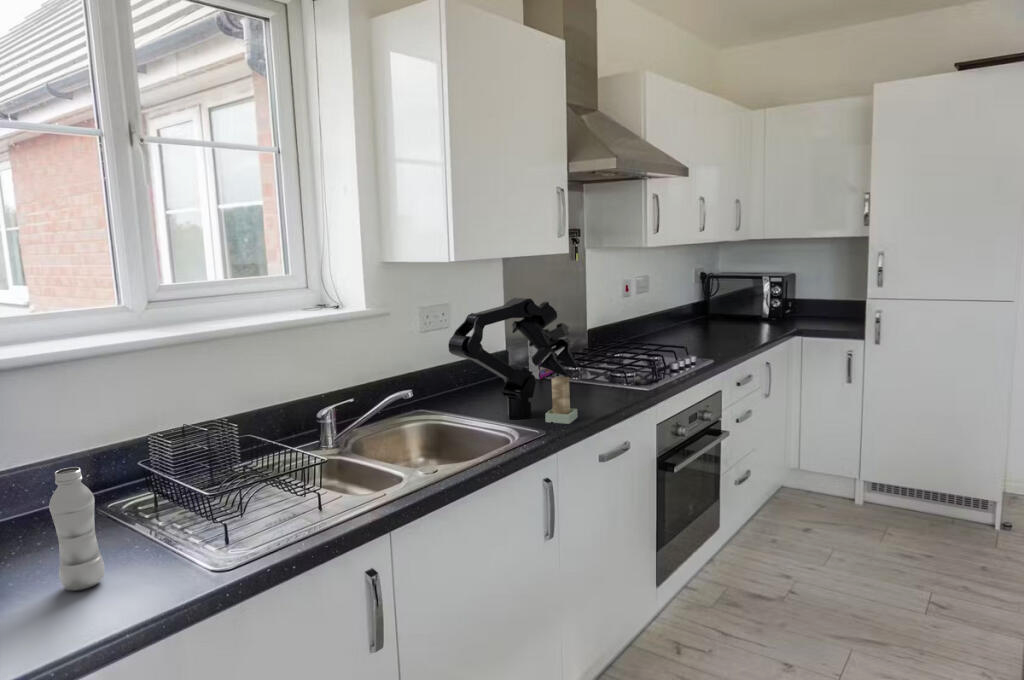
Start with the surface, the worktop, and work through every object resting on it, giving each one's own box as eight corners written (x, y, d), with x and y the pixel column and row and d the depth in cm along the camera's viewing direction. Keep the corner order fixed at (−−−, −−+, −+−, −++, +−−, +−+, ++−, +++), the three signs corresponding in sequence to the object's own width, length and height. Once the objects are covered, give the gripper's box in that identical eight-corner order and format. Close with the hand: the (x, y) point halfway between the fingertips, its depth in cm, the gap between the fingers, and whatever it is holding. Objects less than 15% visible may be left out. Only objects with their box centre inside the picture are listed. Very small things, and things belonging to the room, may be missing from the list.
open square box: (545, 422, 205) (545, 413, 205) (554, 415, 212) (554, 407, 212) (569, 423, 202) (569, 415, 202) (577, 417, 209) (577, 408, 209)
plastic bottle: (68, 600, 112) (51, 480, 109) (55, 587, 116) (38, 472, 114) (112, 584, 117) (96, 469, 114) (98, 572, 121) (82, 461, 118)
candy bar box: (543, 373, 278) (541, 332, 275) (554, 374, 275) (552, 333, 272) (528, 378, 268) (526, 336, 266) (539, 379, 266) (538, 337, 263)
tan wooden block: (553, 419, 206) (551, 379, 204) (557, 415, 210) (556, 376, 208) (565, 419, 204) (564, 379, 203) (570, 416, 208) (569, 377, 206)
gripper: (539, 320, 201) (577, 359, 198) (563, 311, 217) (598, 347, 214) (516, 346, 205) (552, 384, 202) (541, 336, 222) (575, 371, 219)
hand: (571, 371), depth 209 cm, fingers open, 9 cm apart
